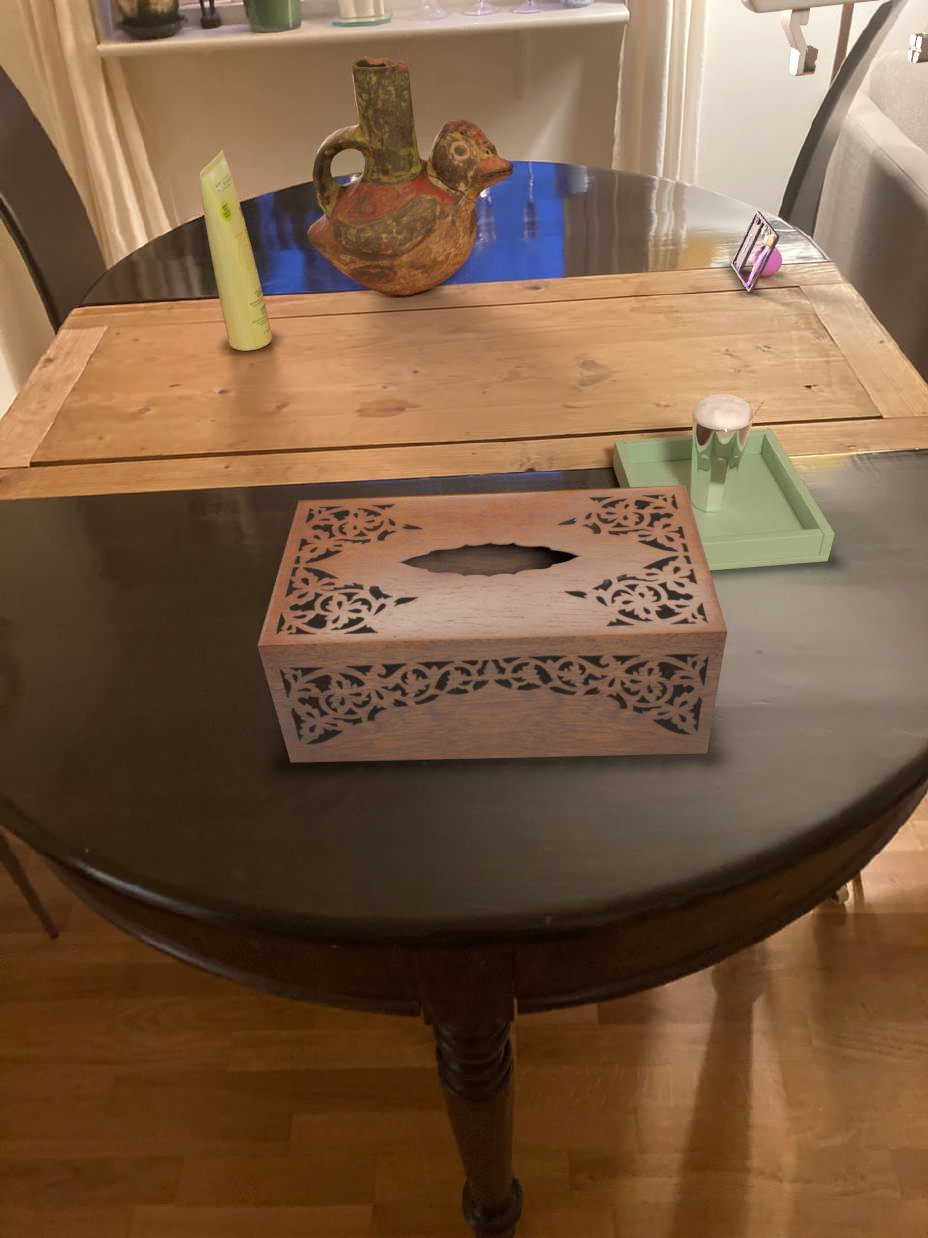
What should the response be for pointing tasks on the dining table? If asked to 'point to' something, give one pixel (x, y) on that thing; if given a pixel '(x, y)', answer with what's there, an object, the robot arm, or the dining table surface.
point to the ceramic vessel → (400, 189)
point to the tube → (233, 259)
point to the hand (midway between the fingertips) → (861, 67)
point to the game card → (758, 251)
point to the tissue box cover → (494, 627)
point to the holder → (738, 501)
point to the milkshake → (718, 449)
